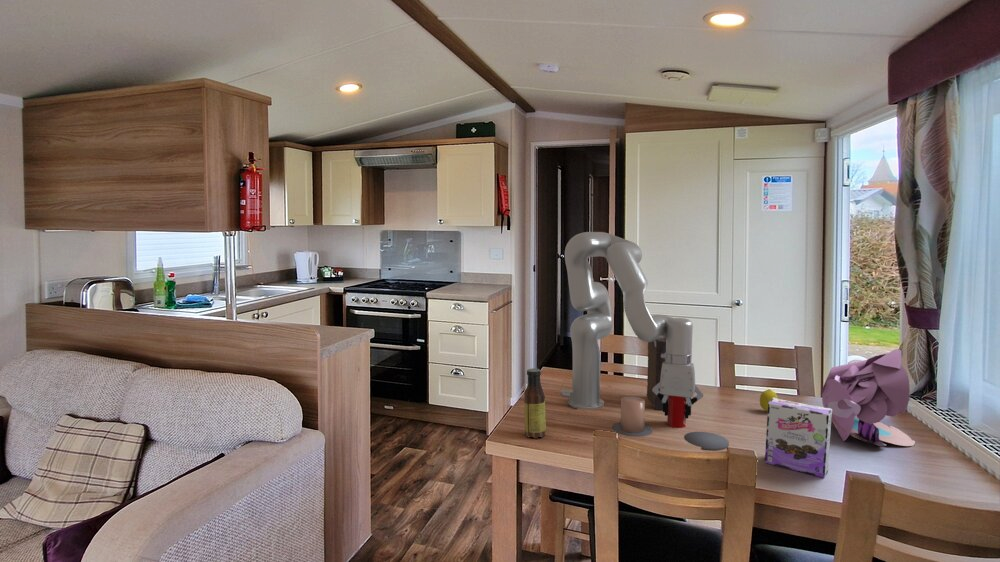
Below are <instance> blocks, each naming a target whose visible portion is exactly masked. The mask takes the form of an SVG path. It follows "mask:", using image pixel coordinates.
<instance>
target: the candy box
mask: <svg viewBox="0 0 1000 562" xmlns="http://www.w3.org/2000/svg"><path fill="white" fill-rule="evenodd" d="M831 417H832V409H831V408H824V406H823V407H822V406H819V405H812V404H811V405H810V404H806V403H802V402H801V403H800V402H796V401H791V400H785V399H781V398H778V399H777V398H773V399H772V400H771V401H770V402H769V403H768V412H767V418H766V435H765V452H764V453H765V455H764V463H766V464H769V465H774V466H778V467H781V468H784V467H785V469H788V470H793V471H796V472H799V471H800V473H804V474H806V475H807V474H808V475H811V476H815V477H820V478H825V477H826V475H827V474H828V471H829V457H830V447H831V446H830V443H831V430H832V429H831V427H832V420H831Z"/></svg>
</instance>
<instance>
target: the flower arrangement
mask: <svg viewBox="0 0 1000 562" xmlns="http://www.w3.org/2000/svg"><path fill="white" fill-rule="evenodd" d="M902 354H903V353H902V350H900V349H899V348H895V349H893V350H890V352H887V353H882V354H878V355H874V356H872V357H870V358H867V359H864V360H859V361H855V362H851V363H846V364H842V365H838V366H833V367H831V368H830V371H829V373H828V375H827V377H826V380H825V381H824V384H823V386H822V388H821V392H820V395H821V400H822V406H823V407H824V408H831V409H832V417H831V423H832V424H833V426H834V428H835V429H836V431H837V433H838V434H839V436H840V438H841V440H842V441H843V442H845V441H847V439H848V437H849V436H851V437H853V438H856V439H858V440H860V441H862V442H866V443H868V444H873V445H876V446H879V447H883V446H886V444H885V443H888V444H892V445H895V446H896V445H897V446H903V447H912V446H914V445H915V444H916V441H915V440H912V438H911V437H910V436H909V435H908V434H907V433H906V432H903V431H902V430H900V429H898V428H897V427H894V426H893V425H889V426H888V425H886V424H884V423H882V422H881V421H882V420H884V418H885V417H886V416H887V417H896V416H897V415H898V414H900V413H901V414H902V415H904V413H905V412H906V411H907V409H908V405H909V400H910V379H909V375H908V373H907V371H906V369H905V368H904V366H902V358H903V357H902ZM884 442H885V443H884Z"/></svg>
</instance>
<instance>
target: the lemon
mask: <svg viewBox="0 0 1000 562" xmlns="http://www.w3.org/2000/svg"><path fill="white" fill-rule="evenodd" d="M773 398H777V399H779V396H778V395H777V393H776V392H775V391H773V390H772V389H770V388H769V389H768V388H767V389H766V390H764V391H762V392H761V394H760V396H759V405H760V407H761V408H762V410H764V411H765V412H766V413H768V403H769V402H770V401H771V400H772V399H773Z"/></svg>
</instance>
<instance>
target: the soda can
mask: <svg viewBox="0 0 1000 562" xmlns="http://www.w3.org/2000/svg"><path fill="white" fill-rule="evenodd" d="M686 404H687V401H686V398H684V397H679V396H668V414H667V416H666V417H667V419H666V425H667V426H669V427H672V428H675V429H683V428H686V424H687V419H686V418H685V417H686Z"/></svg>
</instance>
